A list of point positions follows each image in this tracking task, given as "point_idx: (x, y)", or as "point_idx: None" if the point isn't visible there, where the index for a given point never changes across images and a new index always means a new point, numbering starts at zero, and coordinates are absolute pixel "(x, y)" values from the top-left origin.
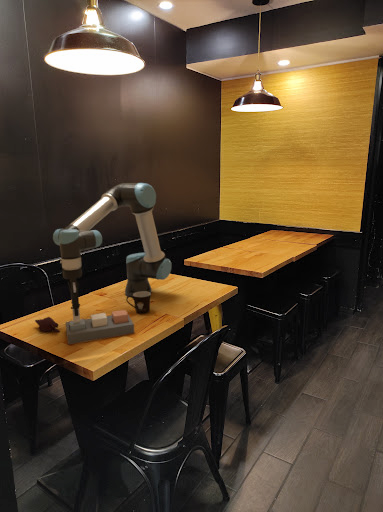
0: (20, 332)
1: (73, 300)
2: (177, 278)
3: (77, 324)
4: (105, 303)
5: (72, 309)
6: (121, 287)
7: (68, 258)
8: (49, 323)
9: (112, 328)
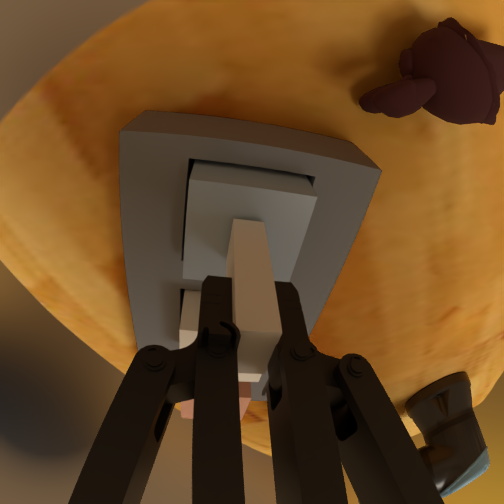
0: None
1: (90, 464)
2: (419, 430)
3: (199, 235)
4: (468, 333)
5: (245, 317)
6: (494, 364)
7: None
8: (437, 74)
9: (137, 343)
